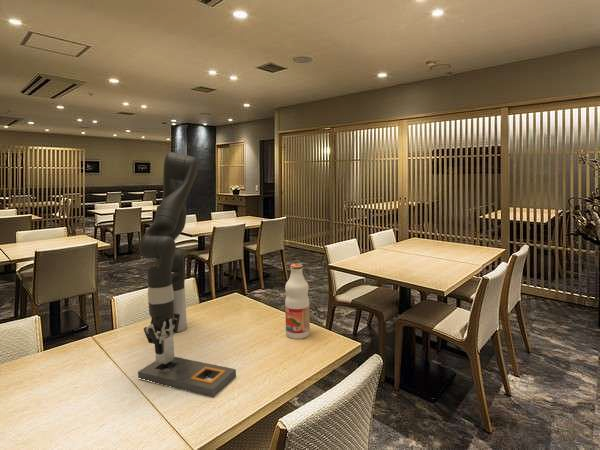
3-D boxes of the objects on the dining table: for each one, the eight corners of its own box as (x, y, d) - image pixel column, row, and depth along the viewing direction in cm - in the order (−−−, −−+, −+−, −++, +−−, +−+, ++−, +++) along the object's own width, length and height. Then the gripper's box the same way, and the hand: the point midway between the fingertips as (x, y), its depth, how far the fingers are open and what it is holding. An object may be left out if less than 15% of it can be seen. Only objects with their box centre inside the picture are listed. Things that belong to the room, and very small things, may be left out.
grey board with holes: (138, 379, 120) (137, 371, 119) (165, 361, 131) (164, 354, 130) (213, 397, 109) (213, 388, 109) (236, 376, 120) (235, 368, 120)
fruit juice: (314, 336, 148) (312, 266, 145) (291, 341, 144) (290, 269, 141) (303, 327, 157) (302, 261, 153) (282, 332, 153) (280, 263, 149)
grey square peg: (155, 361, 121) (154, 337, 120) (164, 356, 125) (163, 332, 124) (165, 364, 120) (164, 340, 119) (174, 358, 123) (173, 334, 122)
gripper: (167, 290, 127) (170, 339, 130) (134, 304, 114) (138, 358, 117) (185, 293, 124) (188, 343, 127) (153, 307, 111) (157, 363, 114)
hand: (164, 350), depth 122 cm, fingers closed on grey square peg, 4 cm apart
